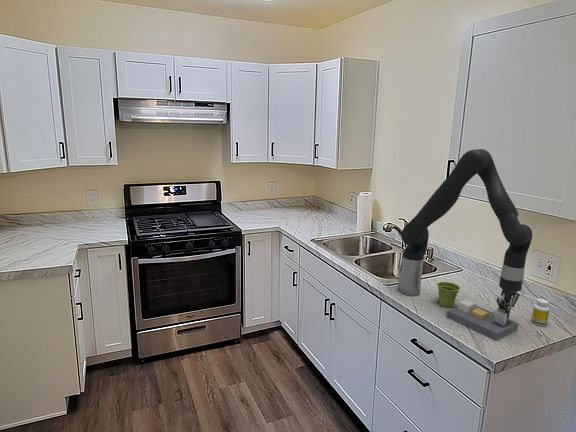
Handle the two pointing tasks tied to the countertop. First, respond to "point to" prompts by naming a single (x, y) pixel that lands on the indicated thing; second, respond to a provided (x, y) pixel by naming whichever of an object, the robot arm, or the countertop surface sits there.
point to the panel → (483, 323)
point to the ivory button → (466, 306)
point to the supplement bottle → (540, 312)
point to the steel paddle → (500, 316)
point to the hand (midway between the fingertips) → (504, 318)
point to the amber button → (479, 314)
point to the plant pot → (447, 293)
